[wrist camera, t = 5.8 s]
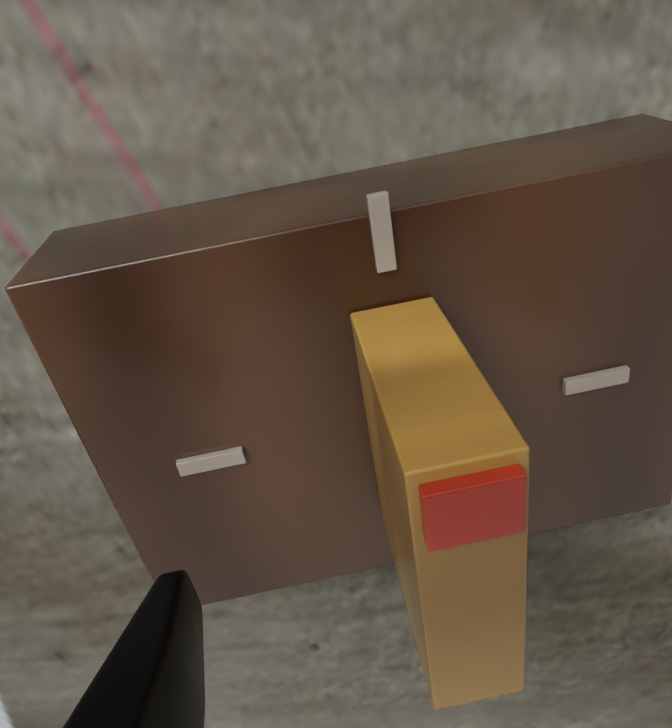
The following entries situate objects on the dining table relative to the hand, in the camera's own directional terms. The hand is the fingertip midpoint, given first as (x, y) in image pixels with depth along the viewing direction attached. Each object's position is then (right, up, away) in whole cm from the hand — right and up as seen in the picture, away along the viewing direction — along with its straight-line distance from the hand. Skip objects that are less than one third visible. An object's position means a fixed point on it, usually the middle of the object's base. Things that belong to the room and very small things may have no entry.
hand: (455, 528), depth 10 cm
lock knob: (-1, +2, +3) cm, 3 cm away
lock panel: (-1, +3, +5) cm, 6 cm away
